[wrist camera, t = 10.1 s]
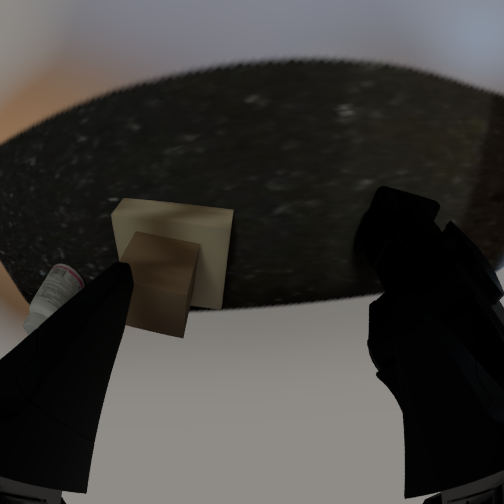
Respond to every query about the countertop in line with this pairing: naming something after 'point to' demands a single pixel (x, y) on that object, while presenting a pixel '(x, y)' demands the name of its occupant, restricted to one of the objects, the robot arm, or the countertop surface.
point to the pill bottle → (53, 295)
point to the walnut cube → (161, 282)
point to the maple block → (182, 238)
